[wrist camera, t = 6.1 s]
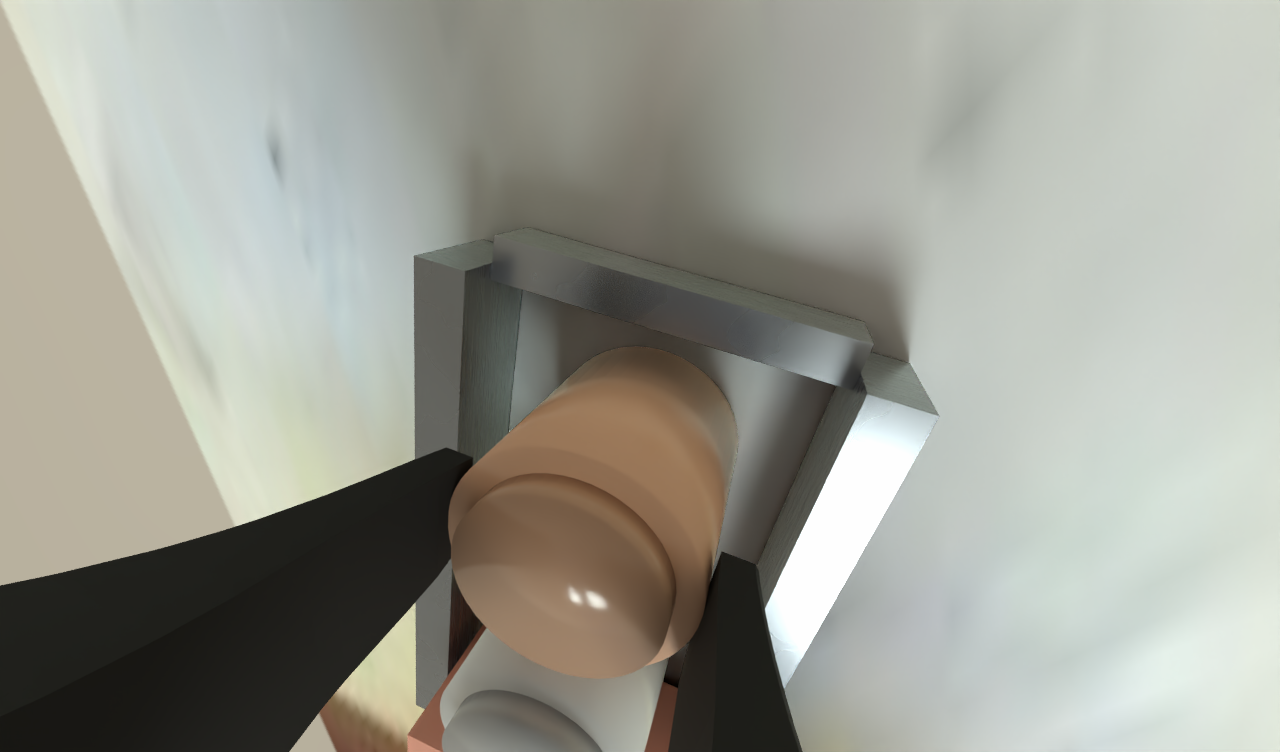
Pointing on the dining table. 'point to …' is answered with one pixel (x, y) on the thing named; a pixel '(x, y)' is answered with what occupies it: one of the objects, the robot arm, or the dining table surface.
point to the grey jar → (544, 706)
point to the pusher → (429, 726)
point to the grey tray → (689, 309)
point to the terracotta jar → (600, 516)
